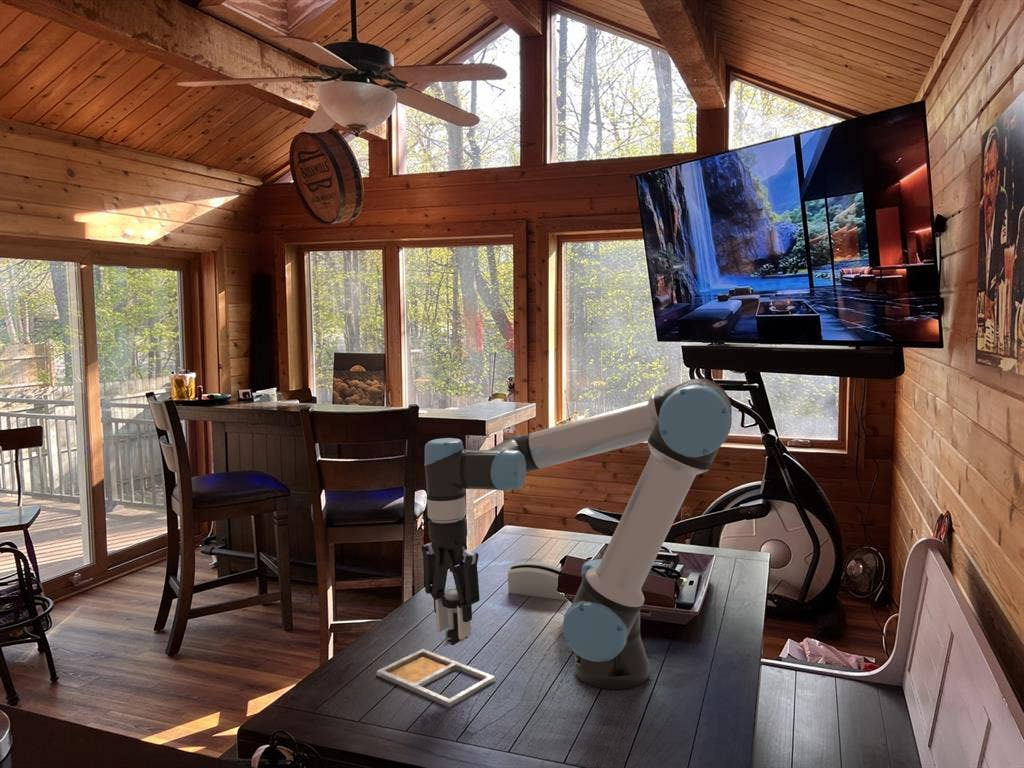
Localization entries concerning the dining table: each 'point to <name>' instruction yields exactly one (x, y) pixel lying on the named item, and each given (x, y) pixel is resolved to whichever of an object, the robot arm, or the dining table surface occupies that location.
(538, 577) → the white rounded block
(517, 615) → the dining table surface
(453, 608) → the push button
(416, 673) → the white divided frame
